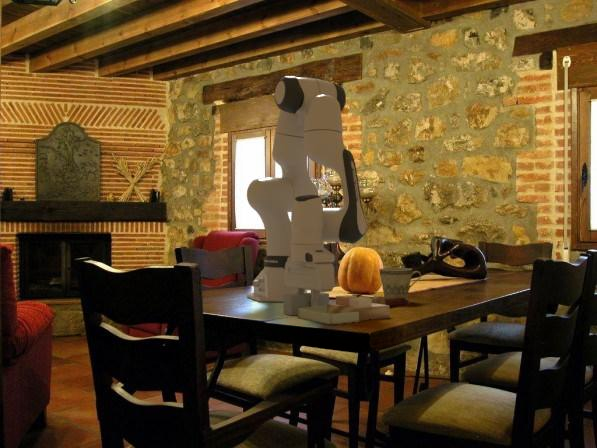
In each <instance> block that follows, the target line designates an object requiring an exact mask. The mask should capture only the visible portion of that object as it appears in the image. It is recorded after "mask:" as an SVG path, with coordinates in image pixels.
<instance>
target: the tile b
mask: <svg viewBox="0 0 597 448" xmlns="http://www.w3.org/2000/svg"><path fill="white" fill-rule="evenodd" d="M349 306H351V307H356V308H364V307H372V299H370V298H363V297H360V298H349Z"/></svg>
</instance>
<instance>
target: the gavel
mask: <svg viewBox="0 0 597 448" xmlns="http://www.w3.org/2000/svg"><path fill="white" fill-rule="evenodd" d="M350 296H357V298H360V297H363V298H370V299H372V303H376V304H383V305H389V306H390V308H393V307H402V306H407V305H409V304H411V300H410V299H405V298H384V296H382V295H381V296H378V295H374V296H370V295H362V294H360V293H352V294H351V295H350Z"/></svg>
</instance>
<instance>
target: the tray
mask: <svg viewBox="0 0 597 448" xmlns="http://www.w3.org/2000/svg"><path fill="white" fill-rule="evenodd" d="M297 318H298V319H301V320H306V321H310V322H314V323H318V322H319V324H322V323H325V324H324V325H327V324H330V325H329V326H332V325H331V324H338V325H343V323H346V324H353V323H352V322H355V323H359V322H360V321H359V312H348V313H338V314H327V307H326V306H315V307H304V308H298V315H297Z"/></svg>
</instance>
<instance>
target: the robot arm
mask: <svg viewBox="0 0 597 448" xmlns="http://www.w3.org/2000/svg"><path fill="white" fill-rule="evenodd" d="M346 95H347V94H346V91H345V89H344V87H343V86H342V85H340V84H338V83H336V82H333V81H331V82H330V81H326V80H323V79H319V78H314V77H313V78H311V77H302V76H301V77H297V76H294V75H290V76H289V75H286V76H282V77H281V78H280V79H279V80H278V81H277V84H276V86H275V90H274V103H275V105H276V106H277V108H278V109H280V111H279V114H278V118H277V121H276V122H277V123H276V126H275V127H276V128H275V131H274V132H275V133H274V138H273V139H274V140H273V146H272V159H273V161H274V162H275V163H276V164H277V165H279V166H280V168H281V173H282V174H281V175H282V176H281V177H271V176H270V177H269V176H267V177H260V178H256V179H253V180H252V181H251V182H250V183H249V185H248V187H247V189H246V198H247V202H248V205H249V206H250V207H251V209H253V210H254V211H255V212H256V213H257V215H258V216H259V217H260V220H261V221H262V224H263V226H264V230H265V239H266V241H265V242H266V255H265V257H263V262H264V263H263V266H264V267H263V269H262V270H261V271H260V272H259V274H258V275H257V276H256V277H255V278H254V280H253V281H252V287H253V292H250V293H246V298H249V299H251V300H253V301H256V302H281V303H282V302H283V303H284V295H289V294H302V293H308V291H310V293H311V294H312V297H311V300H309V306H310V307H315V306H317V300H318V298H319V296H320V292H324V293H329V292H332V291H333V290H334V287H335V266H334V264H333V263H335V254H334V253H332V252H331V251H330V250H328V249H327V248H325V246H324V245H325V243H343V244H353V245H354V244H356V243H358V241H360V240H362V239H363V237H364V236H365V234H366V233H367V221H366V217H365V212H364V209H363V204H362V200H361V199H362V198H361V192H360V185H359V179H358V172H357V165H356V163H355V162H356V161H355V158H354V154H353V153H352V152H351V151H350V150H349V149H347V148H346V146H345V144H344V143H345V142H344V139H343V116H342V112H343V111H344V109H345V107H346V102H347V96H346ZM308 159H309V160H311V162H314V163H315V164H318V165H320V166H322V167H325V168H327V169H331V170H333V171H334V172H335V173H337V174H338V176H339V179H340V185H341V193H342V198H343V206H341V207H324V206H323V201H322V197H321V196H320V195H319V190H318V187H317V185H316V184H315V183H314V182H313V180H312V178H311V177H310V174H309V170H308ZM289 213H291V215H290V216H291V217H289Z"/></svg>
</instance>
